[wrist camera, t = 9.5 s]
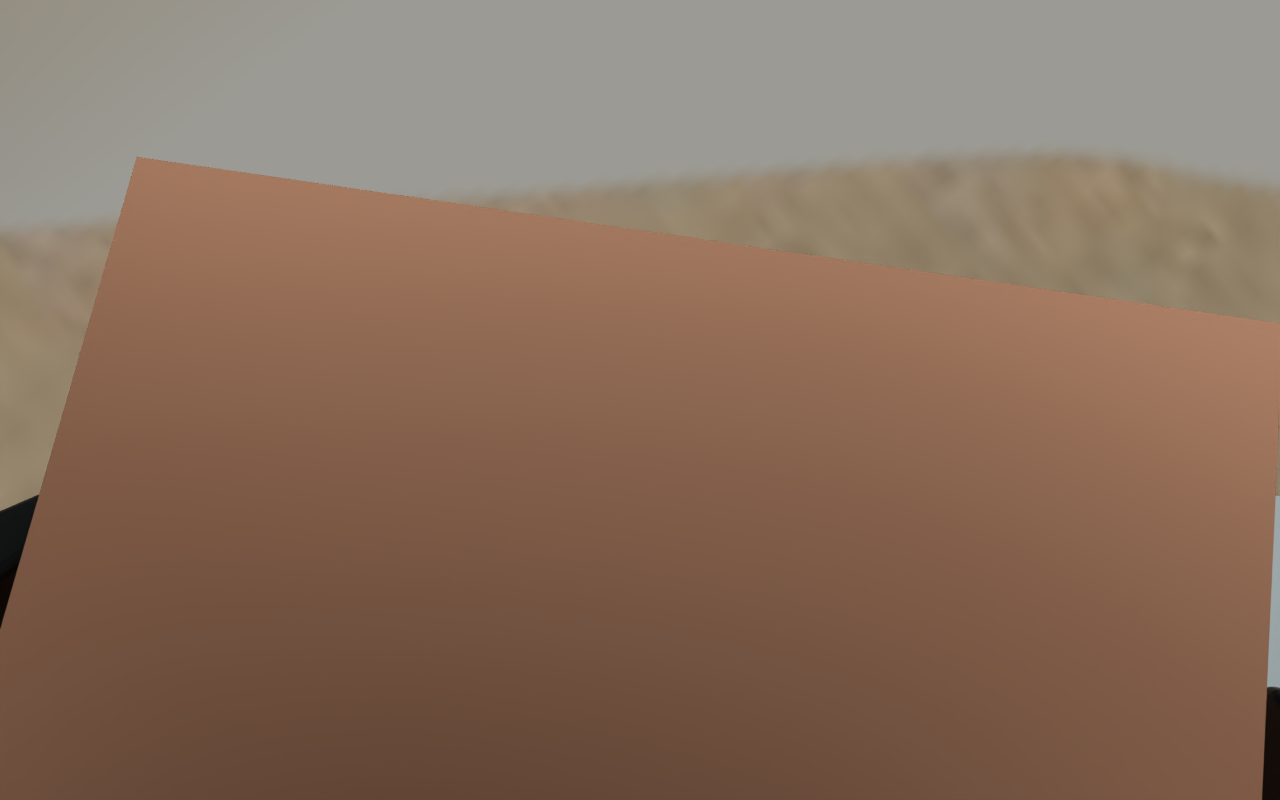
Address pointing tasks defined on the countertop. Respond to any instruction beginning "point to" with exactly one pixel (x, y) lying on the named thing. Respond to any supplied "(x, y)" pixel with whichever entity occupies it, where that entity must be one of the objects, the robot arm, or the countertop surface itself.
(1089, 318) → the terracotta pillar
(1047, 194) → the countertop surface
